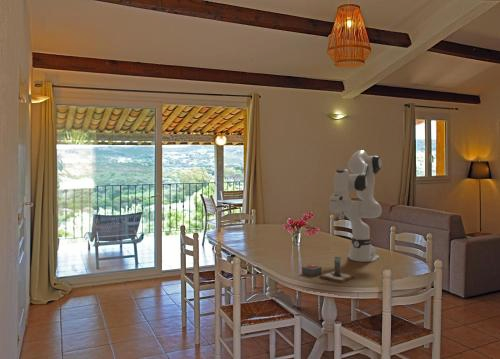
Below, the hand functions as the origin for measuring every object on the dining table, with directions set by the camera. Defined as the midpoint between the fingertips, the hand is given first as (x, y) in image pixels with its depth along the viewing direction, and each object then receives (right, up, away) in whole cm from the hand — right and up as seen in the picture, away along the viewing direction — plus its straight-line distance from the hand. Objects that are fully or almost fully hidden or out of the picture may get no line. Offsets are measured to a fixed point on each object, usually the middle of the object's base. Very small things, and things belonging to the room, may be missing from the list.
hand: (341, 219), depth 257 cm
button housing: (-19, -31, -8) cm, 37 cm away
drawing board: (-6, -31, -16) cm, 36 cm away
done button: (-19, -29, -8) cm, 36 cm away
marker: (-6, -30, -16) cm, 34 cm away
